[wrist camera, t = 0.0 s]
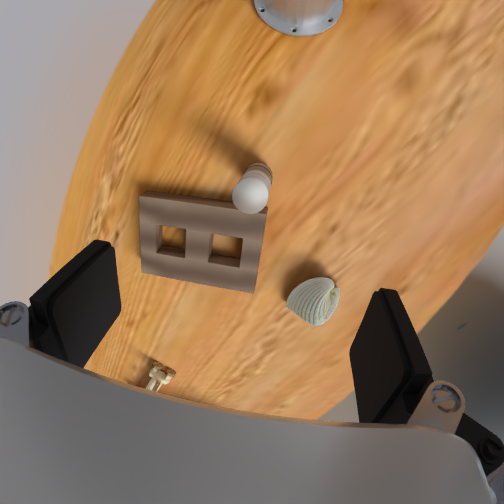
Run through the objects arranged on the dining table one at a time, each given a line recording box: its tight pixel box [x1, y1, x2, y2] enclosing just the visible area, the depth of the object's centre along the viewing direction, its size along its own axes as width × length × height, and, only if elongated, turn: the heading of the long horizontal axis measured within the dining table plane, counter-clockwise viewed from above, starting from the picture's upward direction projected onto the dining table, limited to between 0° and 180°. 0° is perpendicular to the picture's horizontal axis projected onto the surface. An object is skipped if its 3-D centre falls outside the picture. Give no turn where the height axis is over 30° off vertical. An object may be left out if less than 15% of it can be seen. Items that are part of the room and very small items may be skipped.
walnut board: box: [139, 191, 268, 293], centre depth 50 cm, size 14×20×3 cm
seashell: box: [286, 277, 340, 326], centre depth 51 cm, size 8×8×8 cm
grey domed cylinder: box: [232, 163, 272, 214], centre depth 40 cm, size 4×4×12 cm
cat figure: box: [137, 361, 176, 392], centre depth 69 cm, size 10×9×25 cm
